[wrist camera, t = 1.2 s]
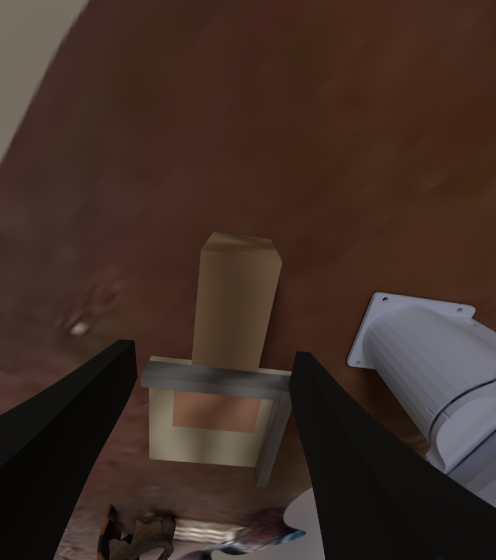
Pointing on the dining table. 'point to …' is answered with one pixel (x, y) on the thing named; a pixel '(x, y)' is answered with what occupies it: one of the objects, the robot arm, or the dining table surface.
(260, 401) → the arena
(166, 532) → the pottery mug
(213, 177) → the dining table surface
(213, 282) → the walnut block
